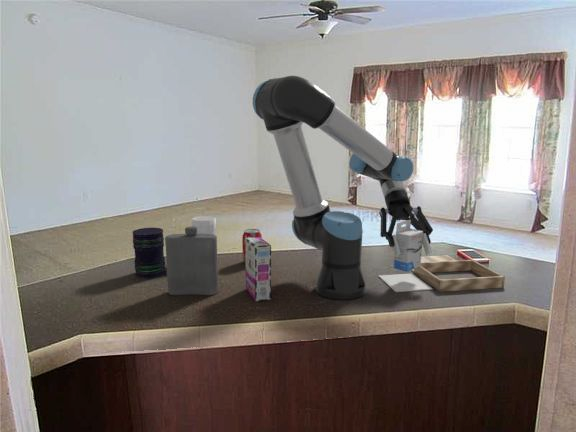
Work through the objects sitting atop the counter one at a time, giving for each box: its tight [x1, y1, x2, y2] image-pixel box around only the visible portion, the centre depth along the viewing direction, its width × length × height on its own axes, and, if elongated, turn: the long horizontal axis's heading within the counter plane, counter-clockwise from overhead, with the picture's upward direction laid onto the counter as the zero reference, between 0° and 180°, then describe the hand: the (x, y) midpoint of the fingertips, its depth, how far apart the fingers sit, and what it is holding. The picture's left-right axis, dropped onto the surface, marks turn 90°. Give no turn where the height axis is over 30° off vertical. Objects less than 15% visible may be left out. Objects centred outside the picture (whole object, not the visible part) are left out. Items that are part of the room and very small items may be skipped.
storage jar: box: [132, 227, 166, 280], centre depth 147 cm, size 10×10×15 cm
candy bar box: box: [245, 237, 272, 302], centre depth 129 cm, size 11×5×16 cm, turn 21°
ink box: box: [393, 220, 423, 273], centre depth 139 cm, size 8×5×15 cm, turn 134°
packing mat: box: [378, 272, 434, 293], centre depth 141 cm, size 12×14×1 cm
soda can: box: [241, 228, 263, 264], centre depth 160 cm, size 7×7×12 cm
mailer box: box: [411, 254, 506, 293], centre depth 151 cm, size 22×34×4 cm, turn 10°
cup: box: [191, 215, 219, 262], centre depth 162 cm, size 9×9×16 cm
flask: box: [164, 225, 219, 296], centre depth 131 cm, size 15×6×20 cm, turn 91°
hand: (413, 254), depth 135 cm, fingers closed on ink box, 9 cm apart
